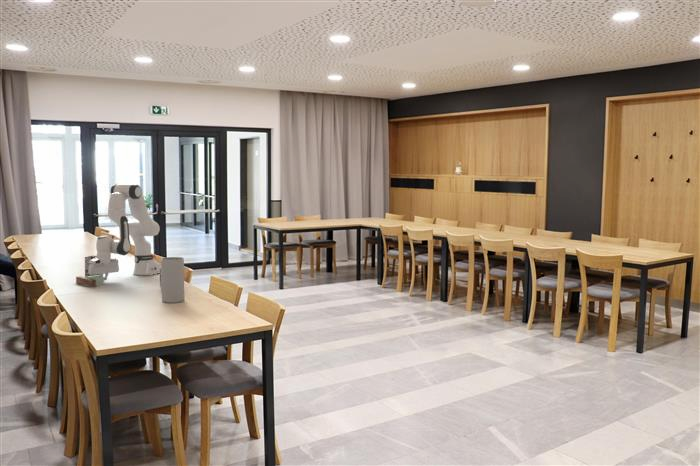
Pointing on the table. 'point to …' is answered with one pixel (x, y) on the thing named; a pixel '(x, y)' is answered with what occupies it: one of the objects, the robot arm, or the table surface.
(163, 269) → the cylinder vase
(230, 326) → the table surface
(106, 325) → the table surface
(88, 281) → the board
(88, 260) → the coffee box
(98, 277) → the block
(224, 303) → the table surface
